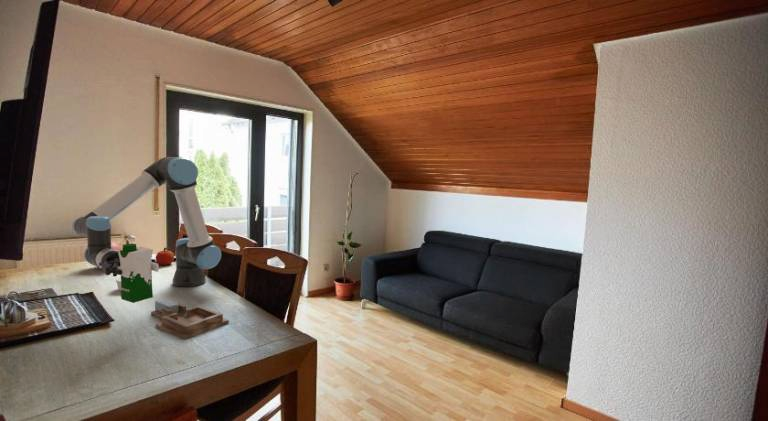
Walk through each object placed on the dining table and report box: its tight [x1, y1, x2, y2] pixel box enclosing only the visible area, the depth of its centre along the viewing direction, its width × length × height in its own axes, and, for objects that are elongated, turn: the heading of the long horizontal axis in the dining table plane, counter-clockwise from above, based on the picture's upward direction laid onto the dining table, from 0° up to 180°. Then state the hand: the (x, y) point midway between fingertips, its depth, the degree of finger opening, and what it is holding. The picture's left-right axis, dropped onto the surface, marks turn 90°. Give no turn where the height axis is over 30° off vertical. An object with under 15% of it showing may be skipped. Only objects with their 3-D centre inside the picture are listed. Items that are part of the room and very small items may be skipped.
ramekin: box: [115, 276, 121, 292], centre depth 183 cm, size 11×11×5 cm
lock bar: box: [154, 298, 179, 314], centre depth 155 cm, size 4×10×4 cm, turn 60°
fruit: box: [155, 247, 175, 266], centre depth 227 cm, size 10×10×10 cm
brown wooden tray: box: [150, 303, 230, 340], centre depth 150 cm, size 18×31×4 cm, turn 60°
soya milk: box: [118, 243, 154, 304], centre depth 137 cm, size 9×9×20 cm
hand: (143, 270), depth 135 cm, fingers closed on soya milk, 9 cm apart
